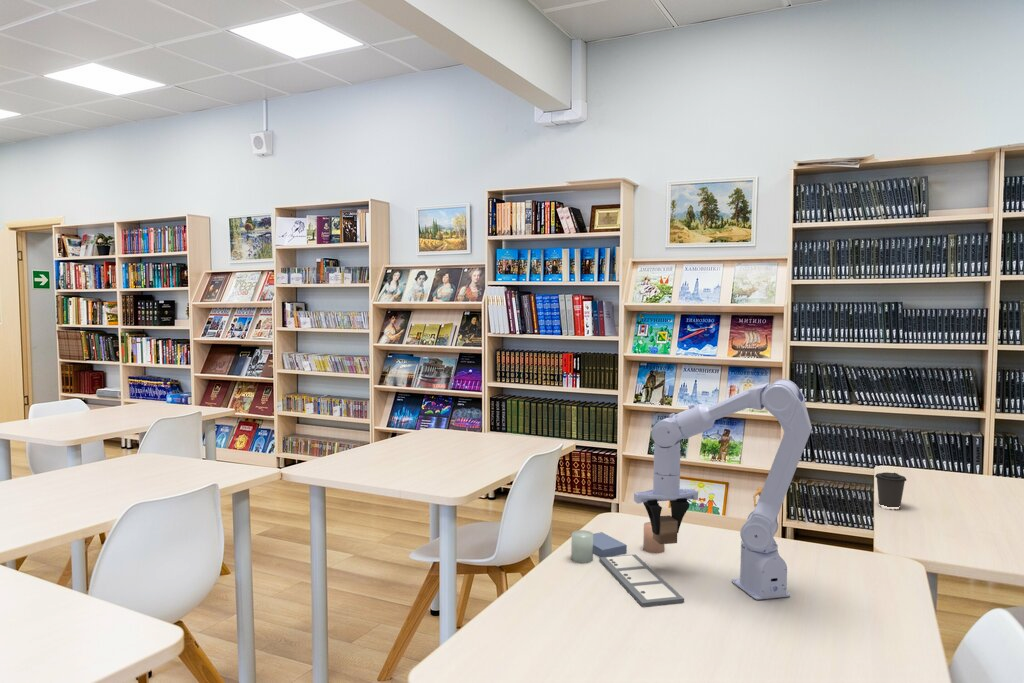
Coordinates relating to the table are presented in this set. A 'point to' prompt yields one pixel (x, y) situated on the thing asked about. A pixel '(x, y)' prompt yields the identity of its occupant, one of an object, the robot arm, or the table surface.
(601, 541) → the slate blue flat block
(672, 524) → the block
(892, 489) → the coffee cup
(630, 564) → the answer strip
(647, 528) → the peach dome-topped cylinder
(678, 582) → the table surface
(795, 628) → the table surface
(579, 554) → the sage dome-ended cylinder
